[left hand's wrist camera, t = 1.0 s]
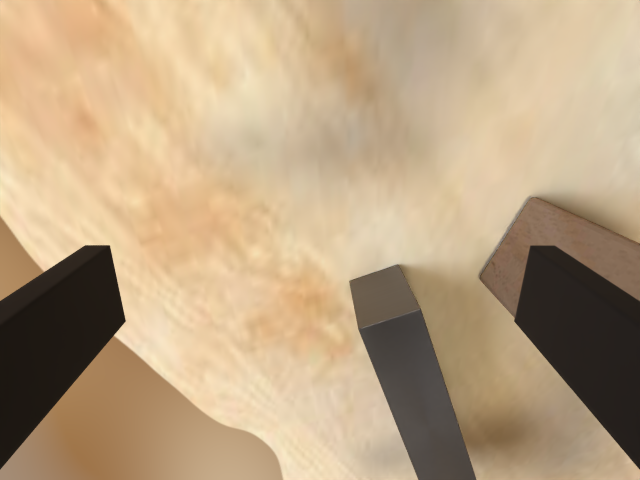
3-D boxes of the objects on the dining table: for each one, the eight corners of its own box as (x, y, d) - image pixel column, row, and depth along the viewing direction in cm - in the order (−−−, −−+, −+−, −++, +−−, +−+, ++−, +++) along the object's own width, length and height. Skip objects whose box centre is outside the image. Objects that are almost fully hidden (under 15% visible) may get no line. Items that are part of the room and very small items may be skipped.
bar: (349, 281, 41) (358, 328, 33) (398, 264, 41) (420, 308, 32) (413, 447, 50) (434, 520, 41) (455, 435, 49) (485, 507, 40)
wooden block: (611, 232, 40) (877, 352, 21) (553, 311, 43) (741, 477, 24) (529, 194, 38) (738, 287, 19) (476, 278, 41) (612, 428, 23)
